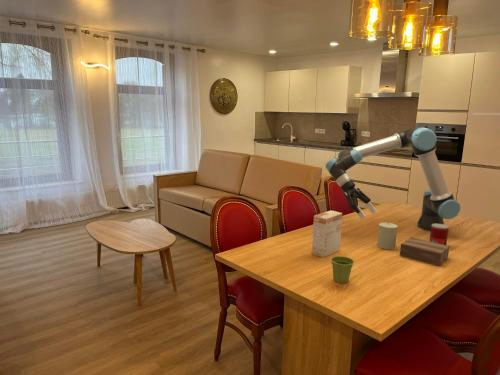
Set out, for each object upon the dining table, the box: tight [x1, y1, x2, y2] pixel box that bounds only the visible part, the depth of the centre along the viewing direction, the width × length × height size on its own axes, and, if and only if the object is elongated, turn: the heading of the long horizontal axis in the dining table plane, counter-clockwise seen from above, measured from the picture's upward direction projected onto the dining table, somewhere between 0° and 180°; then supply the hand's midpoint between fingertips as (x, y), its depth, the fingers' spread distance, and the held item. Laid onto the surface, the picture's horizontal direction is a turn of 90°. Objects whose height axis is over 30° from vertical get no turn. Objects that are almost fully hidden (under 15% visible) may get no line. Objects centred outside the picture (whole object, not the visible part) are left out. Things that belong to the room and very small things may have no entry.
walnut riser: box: [399, 236, 450, 267], centre depth 180 cm, size 14×18×6 cm
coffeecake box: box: [311, 210, 343, 258], centre depth 182 cm, size 15×7×20 cm, turn 134°
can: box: [376, 222, 399, 250], centre depth 193 cm, size 9×9×12 cm
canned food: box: [429, 223, 449, 245], centre depth 195 cm, size 8×8×11 cm
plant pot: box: [330, 255, 355, 284], centre depth 152 cm, size 9×9×9 cm
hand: (369, 215), depth 198 cm, fingers open, 13 cm apart
